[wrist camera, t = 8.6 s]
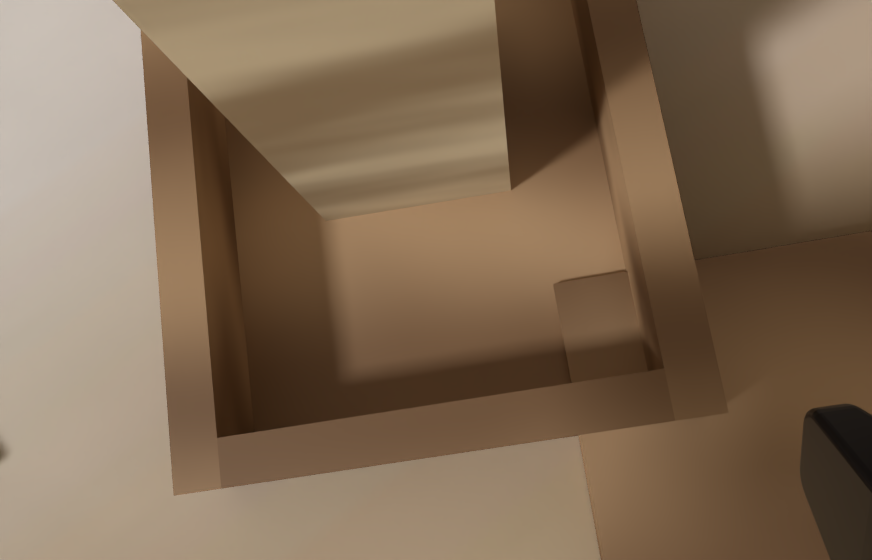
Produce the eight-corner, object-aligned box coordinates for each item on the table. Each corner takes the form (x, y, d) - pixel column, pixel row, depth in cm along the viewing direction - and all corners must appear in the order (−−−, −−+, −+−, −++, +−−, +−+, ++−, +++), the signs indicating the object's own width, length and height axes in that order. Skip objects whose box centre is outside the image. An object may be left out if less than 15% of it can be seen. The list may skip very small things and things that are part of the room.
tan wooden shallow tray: (695, 416, 17) (728, 412, 15) (230, 485, 18) (173, 495, 16) (568, -178, 21) (573, -277, 18) (180, -92, 22) (126, -174, 19)
